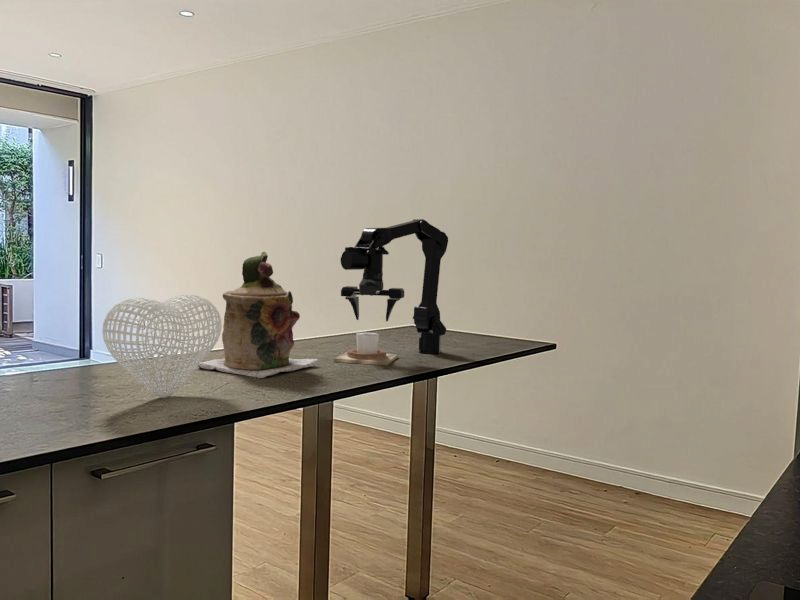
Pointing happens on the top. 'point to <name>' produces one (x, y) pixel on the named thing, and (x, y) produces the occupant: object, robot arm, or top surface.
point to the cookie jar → (258, 326)
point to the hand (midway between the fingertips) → (372, 320)
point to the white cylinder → (367, 342)
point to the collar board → (366, 358)
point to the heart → (162, 339)
